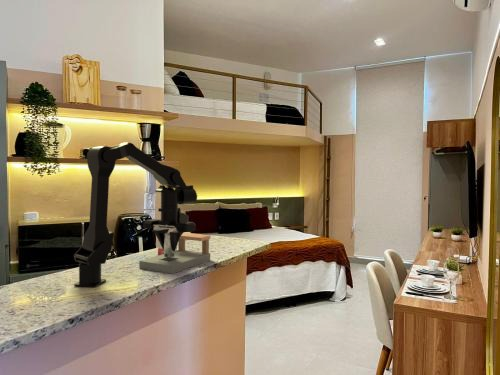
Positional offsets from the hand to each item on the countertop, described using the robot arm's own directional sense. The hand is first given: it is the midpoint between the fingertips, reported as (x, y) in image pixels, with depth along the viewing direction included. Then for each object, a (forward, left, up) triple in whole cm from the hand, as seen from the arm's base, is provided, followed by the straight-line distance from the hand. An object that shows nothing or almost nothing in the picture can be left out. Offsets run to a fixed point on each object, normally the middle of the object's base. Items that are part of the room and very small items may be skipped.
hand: (169, 250), depth 129 cm
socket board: (+4, -1, -6) cm, 7 cm away
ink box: (+21, +8, -6) cm, 23 cm away
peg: (0, 0, -2) cm, 2 cm away
